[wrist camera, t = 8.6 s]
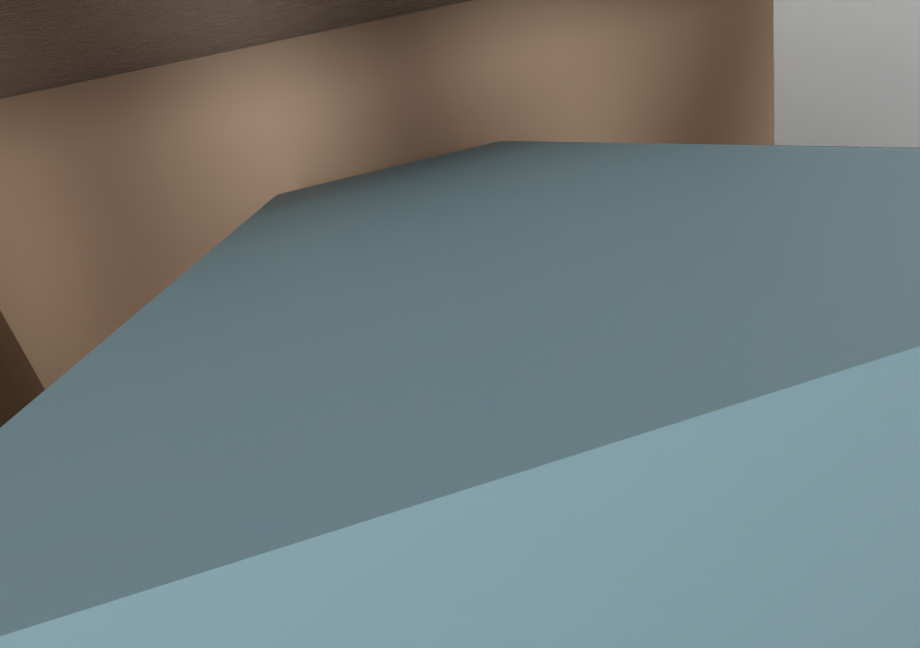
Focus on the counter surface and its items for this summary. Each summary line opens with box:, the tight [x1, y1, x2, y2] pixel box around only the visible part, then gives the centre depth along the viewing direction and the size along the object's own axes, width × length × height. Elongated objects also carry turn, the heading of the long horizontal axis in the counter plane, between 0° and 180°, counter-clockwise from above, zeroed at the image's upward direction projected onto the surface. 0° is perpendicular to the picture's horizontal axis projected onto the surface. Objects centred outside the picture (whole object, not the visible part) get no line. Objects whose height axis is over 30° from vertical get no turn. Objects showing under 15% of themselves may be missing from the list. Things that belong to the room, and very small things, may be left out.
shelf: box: [0, 0, 774, 428], centre depth 11 cm, size 18×24×8 cm
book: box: [0, 141, 920, 648], centre depth 7 cm, size 4×12×9 cm, turn 13°
